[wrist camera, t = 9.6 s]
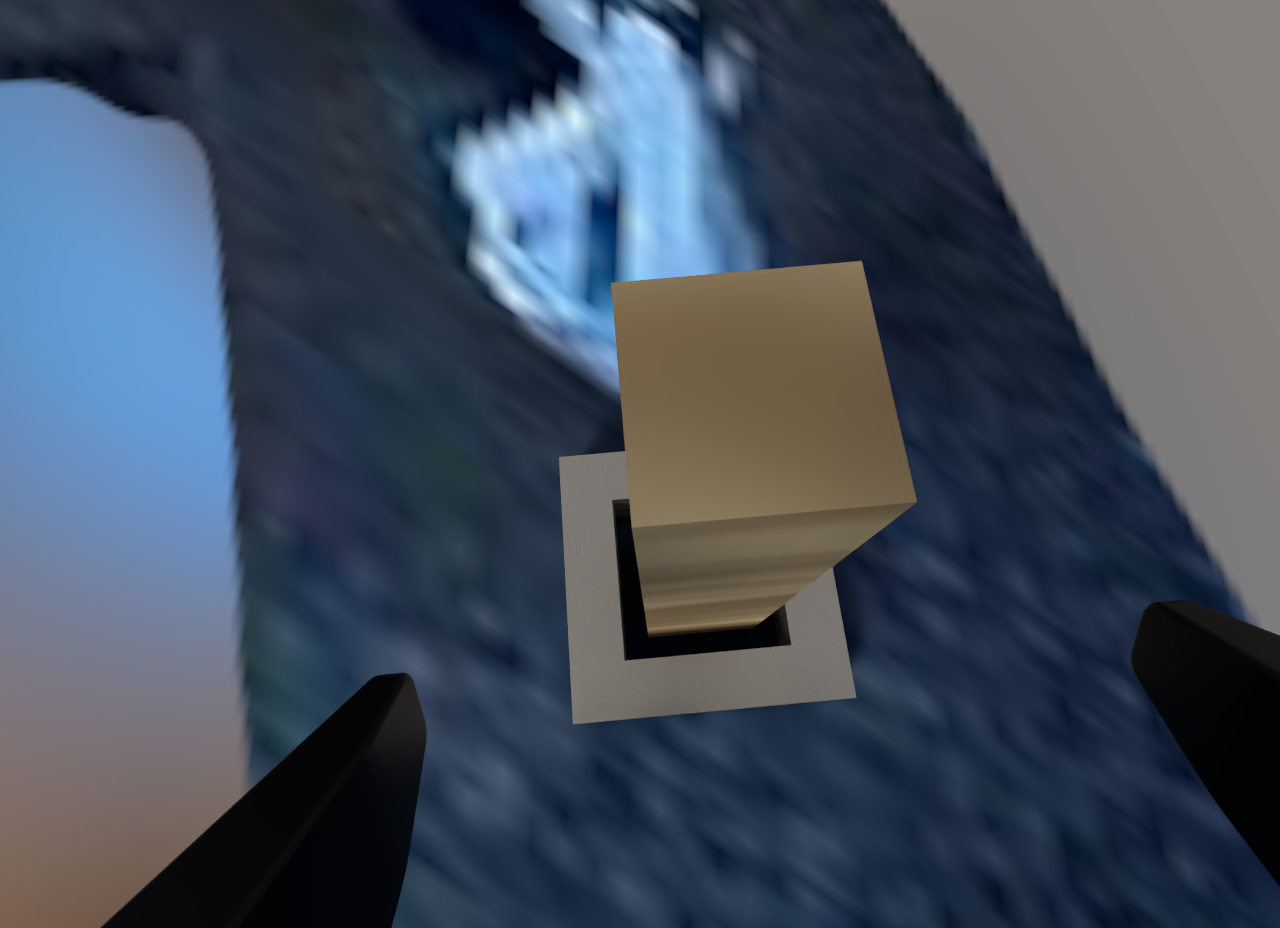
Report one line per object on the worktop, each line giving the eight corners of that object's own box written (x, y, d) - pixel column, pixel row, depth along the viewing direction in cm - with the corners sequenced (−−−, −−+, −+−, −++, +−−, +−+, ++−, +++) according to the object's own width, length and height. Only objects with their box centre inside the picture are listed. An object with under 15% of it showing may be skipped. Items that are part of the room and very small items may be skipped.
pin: (752, 628, 21) (916, 502, 8) (648, 637, 21) (631, 528, 8) (738, 526, 22) (861, 260, 9) (640, 535, 22) (611, 282, 9)
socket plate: (837, 697, 20) (856, 697, 18) (580, 721, 20) (573, 724, 18) (795, 456, 23) (808, 434, 21) (567, 477, 23) (558, 457, 21)
